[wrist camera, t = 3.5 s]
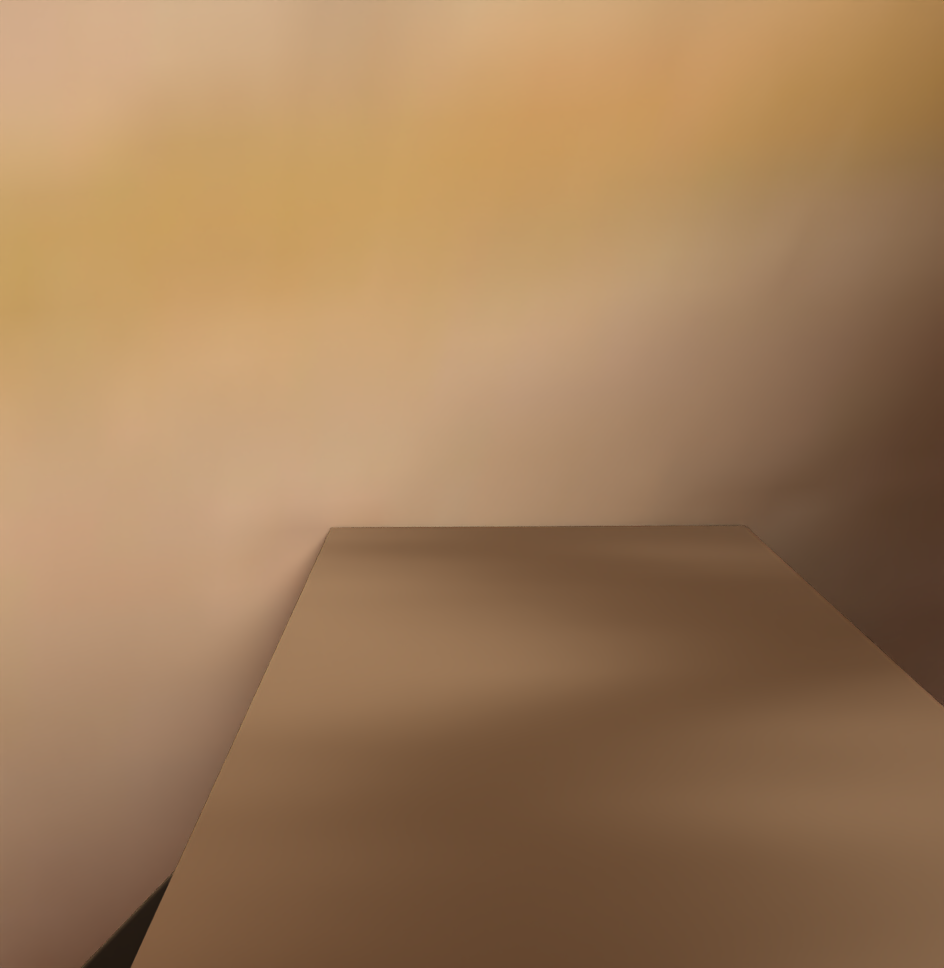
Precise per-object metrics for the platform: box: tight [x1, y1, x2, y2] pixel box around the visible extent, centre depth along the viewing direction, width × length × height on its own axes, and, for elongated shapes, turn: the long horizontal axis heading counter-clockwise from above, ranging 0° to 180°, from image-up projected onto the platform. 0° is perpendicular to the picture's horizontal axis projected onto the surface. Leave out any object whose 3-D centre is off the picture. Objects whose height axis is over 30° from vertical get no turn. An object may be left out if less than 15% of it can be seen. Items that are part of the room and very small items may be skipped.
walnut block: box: [131, 526, 944, 968], centre depth 6 cm, size 5×5×6 cm
